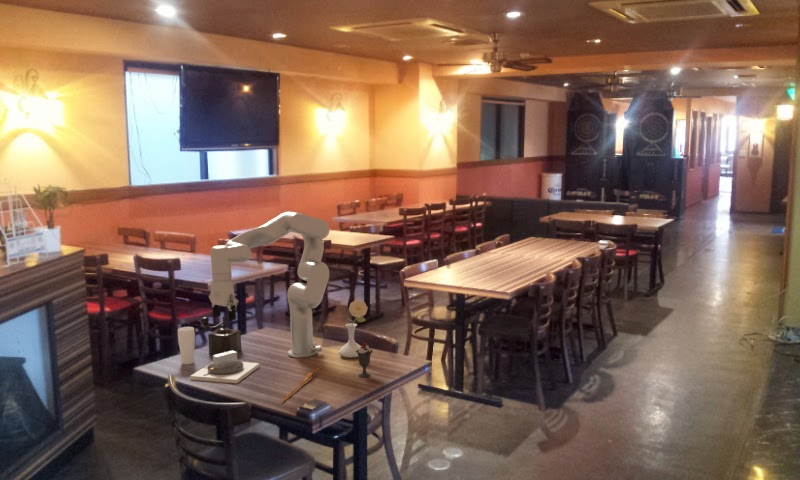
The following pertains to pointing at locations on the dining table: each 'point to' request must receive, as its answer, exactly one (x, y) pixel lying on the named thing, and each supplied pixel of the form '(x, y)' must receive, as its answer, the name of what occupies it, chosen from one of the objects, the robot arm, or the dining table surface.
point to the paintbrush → (301, 384)
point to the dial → (225, 363)
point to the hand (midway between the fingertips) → (224, 318)
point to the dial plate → (227, 378)
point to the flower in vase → (356, 310)
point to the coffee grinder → (222, 338)
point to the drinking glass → (186, 344)
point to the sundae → (364, 358)
